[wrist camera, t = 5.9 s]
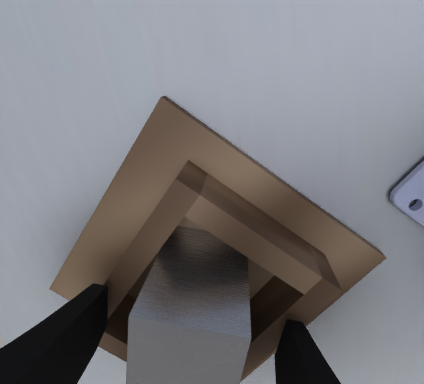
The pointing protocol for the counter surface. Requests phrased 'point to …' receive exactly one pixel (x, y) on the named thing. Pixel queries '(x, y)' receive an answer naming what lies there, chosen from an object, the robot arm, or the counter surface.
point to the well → (213, 231)
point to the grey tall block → (191, 314)
